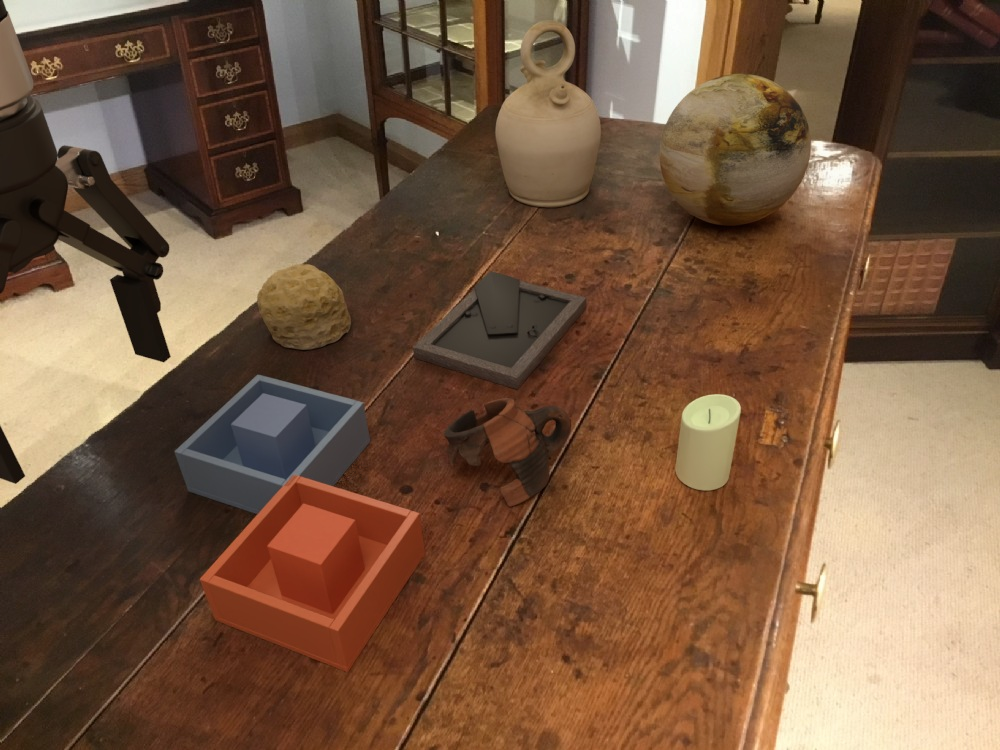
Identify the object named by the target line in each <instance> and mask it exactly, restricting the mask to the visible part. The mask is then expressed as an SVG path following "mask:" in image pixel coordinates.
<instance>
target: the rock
mask: <svg viewBox="0 0 1000 750" xmlns="http://www.w3.org/2000/svg"><path fill="white" fill-rule="evenodd" d="M256 300H257V307H258V313H259V315H260V316H261V317H262V320H263V323H264V325H265V327H266V328H267V330H268V331H269V332H270V334H271V338H272V340H273V341H275V343H277V344H279V345H281V346H282V347H284V348H288V349H295V350H305V351H306V350H307V351H308V350H309V351H310V350H314V349H318V348H322V347H325V346H326V345H329V344H333V343H336V342H338V341H339V340H340V339H341V338H342V337H343V336H344V335H345V334H347V333H349V331H350V330H351V326H352V318H351V315H350V312H349V310H348V305H347V303H346V301H345V296H344V292H343V290H342V289H341V288H340V286H339V285H338V284H337V283H336V282H335V280H334V279H333V278H332V277H330V276H329V274H328V273H326V272H325V271H322V270H320V269H319V268H317V267H316V266H315V265H311V264H310V263H308V264H305V263H296V264H293V265H290V266H288V267H286V268H282V269H278V270H276V271H275V272H274V273H273V274H271V275H270V276H269V277H267V278H266V281H265V282H264V283H262V287H261V289H260V290H259V291H258V292H257V297H256Z"/></svg>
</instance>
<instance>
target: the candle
mask: <svg viewBox="0 0 1000 750" xmlns="http://www.w3.org/2000/svg"><path fill="white" fill-rule="evenodd" d="M741 409H742V407H741V405H740V402H739V401H738V400H737V399H736V398H734V397H732V396H730V395H726V394H722V393H721V394H719V393H715V394H714V393H713V394H708V395H703V396H700V397H697V398H696V399H694V400H693V401H690V402H689V403H688V404H687V405H686V406H685V407H684V409H683V410H682V414H681V419H680V428H679V429H680V430H679V434H678V435H679V437H678V443H677V444H678V445H677V450H676V451H677V452H676V461H675V468H674V471H675V475H676V477H677V478H678V480H679V481H680V482H681V483H682V484H684V485H686V486H687V487H689V488H691V489H694V490H697V491H698V490H699V491H713V490H719V489H720V488H722V487H723V486H725V485H726V484H727V483H728V481H729V479H730V475H731V474H730V473H731V468H732V463H733V458H734V453H735V452H734V451H735V446H736V441H737V435H738V430H739V423H740V418H741V413H742V410H741Z"/></svg>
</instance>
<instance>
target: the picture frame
mask: <svg viewBox="0 0 1000 750" xmlns="http://www.w3.org/2000/svg"><path fill="white" fill-rule="evenodd" d="M473 288H474V289H473V290H472V291H471V292H470V293H469V294H467V295H466V296H465V297H464V298H463V299H462V300H461V301H460V302H459V303H457V305H456V306H454V308H452V309H451V310H450V312H448V313H447V314H446V315H445V316H444V317H443V318H442V319H440V320H439V322H438V323H436V325H434V326H433V327H432V328H431V329H430V330H429V331H427V333H426V334H425V335H424V336H423V337H421V338H420V339H419V340H418V342H416V343H415V344H414V345H413V346H412V351H413V358H414V359H417V360H420V361H422V362H425V363H428V364H429V363H430V364H432V365H435V366H439V367H442V368H446V369H449V370H451V371H455V372H458V373H461V374H465V375H469V376H472V377H475V378H478V379H481V380H484V381H488V382H491V383H494V384H497V385H501V386H504V387H507V388H511V389H513V390H517V391H518V390H519V389H520V388H521V386H522V385H523V384H524V383H525V382H526V381H527V379H528V378H529V377H530V376H531V375H532V374H533V372H534V371H535V370H536V369H537V368H538V366H539V365H540V364H541V363H542V361H543V360H544V359H545V358H546V357H547V356H548V354H549V353H550V352H551V351H552V350H553V349H554V347H555V346H556V345H557V344H558V343H559V341H560V340H561V339H562V338H563V337H564V335H565V334H566V333H567V332H568V331H569V330H570V329H571V328H572V326H573V325H574V324H575V322H577V320H578V319H579V318H580V317H581V315H582V314H583V313H584V312H585V311H586V309H587V299H588V298H587V297H585V296H582V295H577V294H573V293H569V292H565V291H561V290H558V289H553V288H549V287H545V286H541V285H538V284H533V283H529V282H525V281H521V280H520V278H517V277H514V276H509V275H506V274H503V273H499V272H496V271H492V270H490V271H489V272H487V274H486V275H485V276H483V277H482V278H481V279H480V280H479V281H478V282H477V283H476V284H475V285H474V286H473Z"/></svg>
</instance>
